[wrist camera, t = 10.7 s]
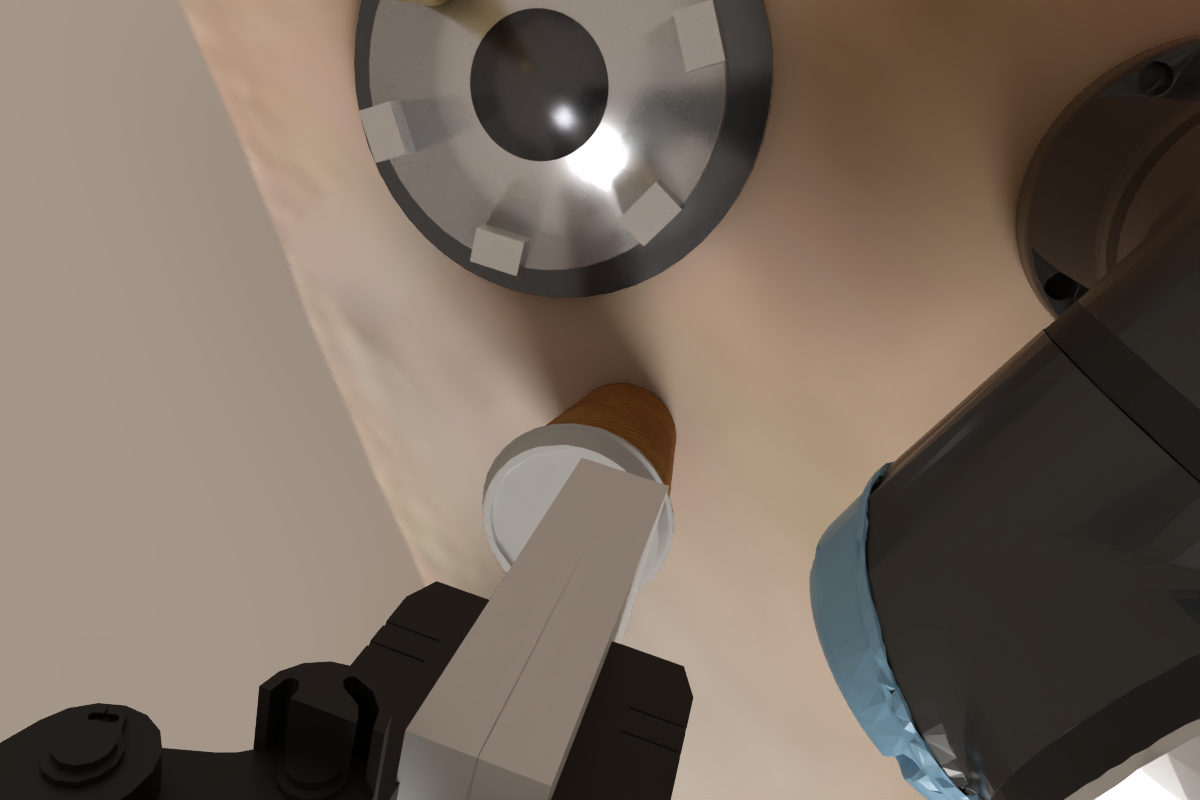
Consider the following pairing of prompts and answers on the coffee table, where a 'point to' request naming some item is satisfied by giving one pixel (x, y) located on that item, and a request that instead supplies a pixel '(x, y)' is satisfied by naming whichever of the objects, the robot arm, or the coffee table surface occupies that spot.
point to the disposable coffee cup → (550, 454)
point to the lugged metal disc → (547, 119)
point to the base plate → (701, 211)
